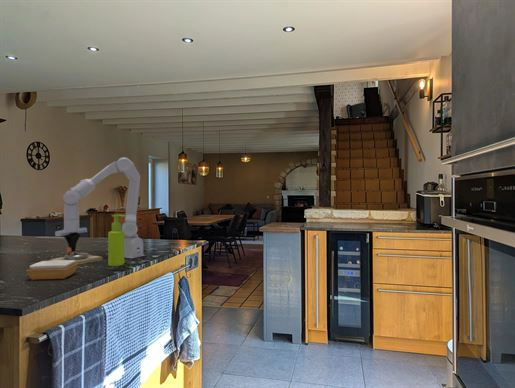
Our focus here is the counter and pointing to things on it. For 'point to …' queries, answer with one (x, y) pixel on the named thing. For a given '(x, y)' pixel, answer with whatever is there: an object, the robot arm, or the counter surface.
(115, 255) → the soap dispenser
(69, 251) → the handwheel
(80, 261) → the board
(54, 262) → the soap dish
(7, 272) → the counter surface
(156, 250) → the counter surface
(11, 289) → the counter surface
